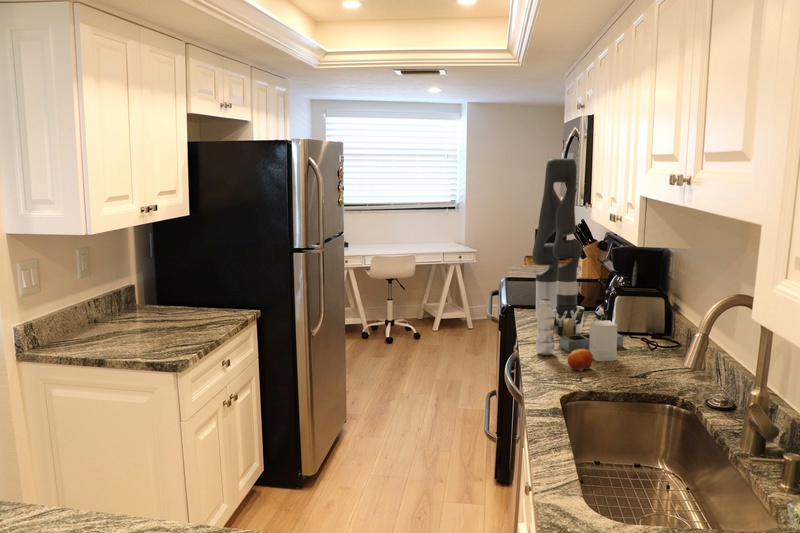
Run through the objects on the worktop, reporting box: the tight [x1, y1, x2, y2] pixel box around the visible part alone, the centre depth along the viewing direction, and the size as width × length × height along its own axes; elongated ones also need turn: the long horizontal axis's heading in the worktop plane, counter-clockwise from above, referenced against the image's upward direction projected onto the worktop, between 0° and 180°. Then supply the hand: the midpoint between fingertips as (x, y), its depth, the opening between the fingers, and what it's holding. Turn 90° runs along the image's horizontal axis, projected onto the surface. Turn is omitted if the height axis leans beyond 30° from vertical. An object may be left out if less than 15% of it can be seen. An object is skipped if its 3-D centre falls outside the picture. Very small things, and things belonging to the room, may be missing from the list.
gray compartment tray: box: [559, 333, 624, 353], centre depth 236 cm, size 7×22×4 cm, turn 103°
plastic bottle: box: [535, 299, 555, 356], centre depth 228 cm, size 6×7×20 cm
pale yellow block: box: [558, 319, 574, 341], centre depth 244 cm, size 4×4×8 cm
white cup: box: [567, 305, 585, 335], centre depth 257 cm, size 8×8×10 cm
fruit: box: [567, 349, 593, 372], centre depth 212 cm, size 8×8×8 cm
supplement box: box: [589, 320, 618, 362], centre depth 222 cm, size 7×7×13 cm
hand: (566, 335), depth 245 cm, fingers open, 4 cm apart
